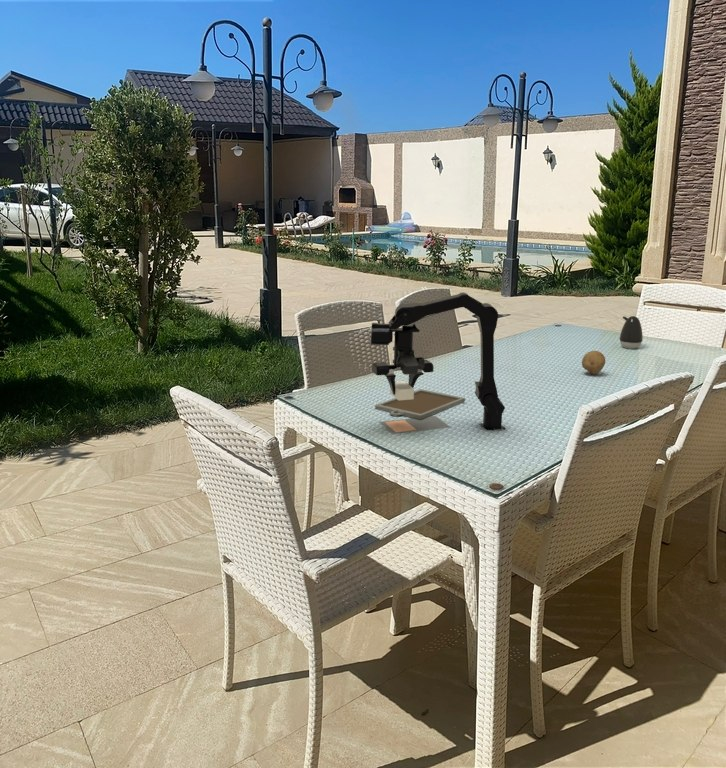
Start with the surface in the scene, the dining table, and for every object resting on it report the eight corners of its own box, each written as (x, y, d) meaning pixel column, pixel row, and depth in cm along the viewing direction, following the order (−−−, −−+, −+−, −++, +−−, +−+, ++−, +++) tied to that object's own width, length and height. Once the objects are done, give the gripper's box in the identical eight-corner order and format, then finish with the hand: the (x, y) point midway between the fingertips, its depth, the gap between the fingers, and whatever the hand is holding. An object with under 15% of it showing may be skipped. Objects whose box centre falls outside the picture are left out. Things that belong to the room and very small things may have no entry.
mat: (451, 429, 231) (451, 426, 231) (392, 435, 225) (392, 433, 225) (435, 417, 242) (435, 415, 242) (379, 423, 236) (379, 421, 236)
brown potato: (590, 378, 291) (593, 354, 288) (576, 373, 299) (578, 349, 296) (608, 376, 294) (610, 352, 292) (593, 370, 302) (595, 347, 299)
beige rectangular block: (404, 391, 234) (405, 381, 233) (413, 399, 226) (413, 388, 225) (390, 392, 232) (390, 382, 231) (398, 400, 225) (398, 389, 224)
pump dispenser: (625, 344, 351) (629, 313, 347) (645, 348, 343) (649, 316, 339) (614, 347, 345) (617, 315, 340) (634, 351, 337) (637, 319, 333)
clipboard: (465, 397, 257) (416, 417, 235) (465, 402, 258) (415, 422, 235) (420, 388, 269) (370, 406, 247) (420, 393, 270) (370, 411, 247)
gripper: (382, 352, 215) (381, 403, 219) (441, 349, 220) (439, 399, 224) (371, 344, 225) (370, 392, 229) (427, 341, 230) (425, 389, 234)
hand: (401, 393), depth 229 cm, fingers closed on beige rectangular block, 5 cm apart
